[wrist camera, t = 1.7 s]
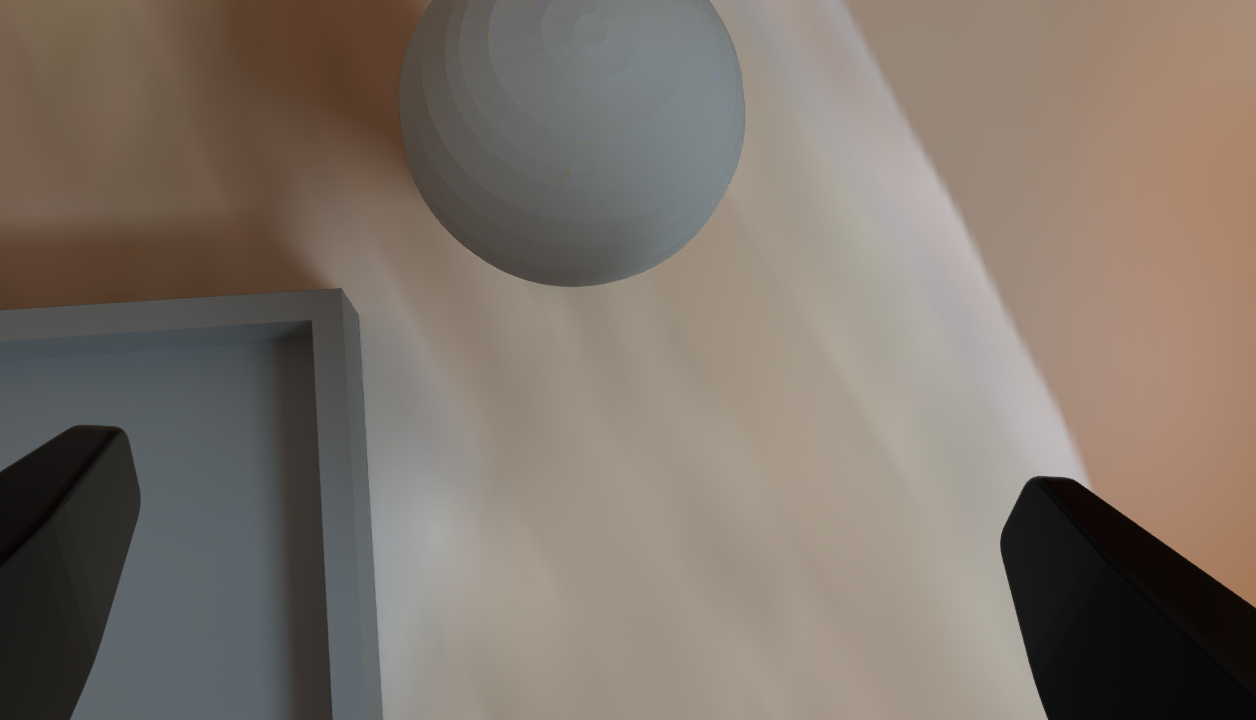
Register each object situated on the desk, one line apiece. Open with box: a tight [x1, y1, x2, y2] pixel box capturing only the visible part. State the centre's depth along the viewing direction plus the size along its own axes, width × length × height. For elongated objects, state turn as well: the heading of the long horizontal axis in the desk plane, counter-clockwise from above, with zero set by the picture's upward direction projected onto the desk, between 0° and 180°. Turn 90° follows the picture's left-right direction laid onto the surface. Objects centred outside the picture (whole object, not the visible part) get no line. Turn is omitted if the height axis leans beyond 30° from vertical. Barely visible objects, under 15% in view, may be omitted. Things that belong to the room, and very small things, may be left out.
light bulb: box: [398, 0, 745, 287], centre depth 18 cm, size 5×6×10 cm
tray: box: [0, 288, 383, 720], centre depth 18 cm, size 13×13×2 cm
